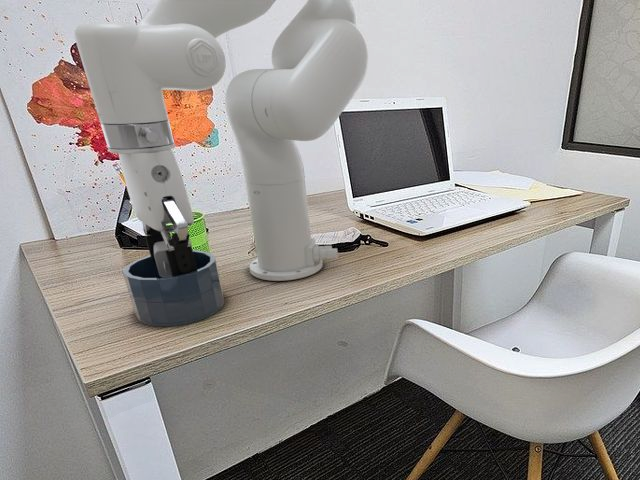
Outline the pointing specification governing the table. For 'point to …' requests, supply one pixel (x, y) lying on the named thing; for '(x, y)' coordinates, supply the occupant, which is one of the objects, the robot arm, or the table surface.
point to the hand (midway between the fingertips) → (174, 267)
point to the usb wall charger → (162, 259)
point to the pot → (174, 292)
